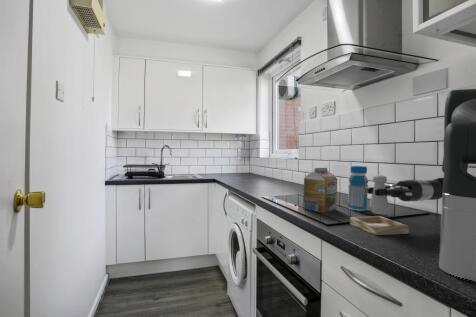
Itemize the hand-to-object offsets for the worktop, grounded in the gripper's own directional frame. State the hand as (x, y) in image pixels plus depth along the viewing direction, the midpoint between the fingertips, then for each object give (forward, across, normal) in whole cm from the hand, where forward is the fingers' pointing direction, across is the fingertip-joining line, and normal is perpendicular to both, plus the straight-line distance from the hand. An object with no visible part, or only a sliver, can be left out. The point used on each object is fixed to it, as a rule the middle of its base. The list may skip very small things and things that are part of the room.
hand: (372, 191), depth 88 cm
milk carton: (+3, -30, +13) cm, 33 cm away
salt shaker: (-3, 0, +8) cm, 8 cm away
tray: (-2, 0, +13) cm, 13 cm away
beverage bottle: (-15, -28, +14) cm, 35 cm away
